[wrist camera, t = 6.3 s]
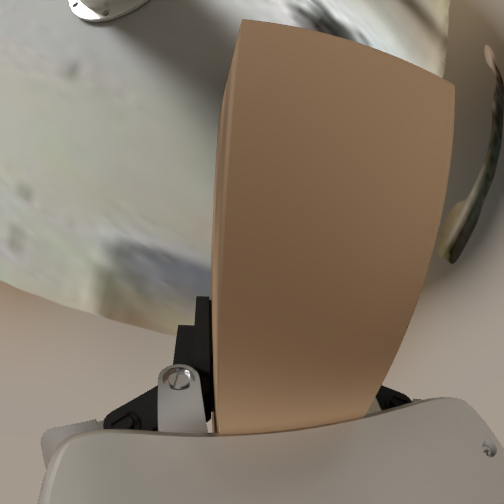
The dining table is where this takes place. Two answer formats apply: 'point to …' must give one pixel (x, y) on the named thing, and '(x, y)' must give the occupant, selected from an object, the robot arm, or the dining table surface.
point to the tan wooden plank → (319, 223)
